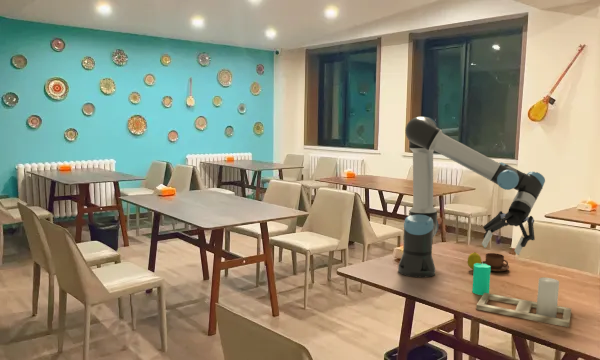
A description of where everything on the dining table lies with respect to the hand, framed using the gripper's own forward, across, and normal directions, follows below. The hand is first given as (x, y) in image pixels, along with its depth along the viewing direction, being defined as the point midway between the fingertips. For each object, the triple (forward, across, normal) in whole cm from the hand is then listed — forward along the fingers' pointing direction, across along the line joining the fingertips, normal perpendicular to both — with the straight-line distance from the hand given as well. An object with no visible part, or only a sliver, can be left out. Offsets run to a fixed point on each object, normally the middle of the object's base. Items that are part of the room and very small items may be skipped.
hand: (499, 249), depth 193 cm
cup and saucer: (-3, +14, -25) cm, 29 cm away
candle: (+18, 0, -3) cm, 19 cm away
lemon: (+3, +18, -18) cm, 26 cm away
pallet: (+22, -18, 0) cm, 28 cm away
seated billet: (+20, -25, -2) cm, 32 cm away
